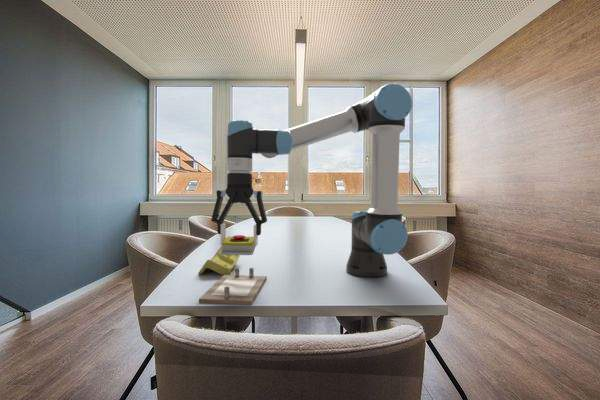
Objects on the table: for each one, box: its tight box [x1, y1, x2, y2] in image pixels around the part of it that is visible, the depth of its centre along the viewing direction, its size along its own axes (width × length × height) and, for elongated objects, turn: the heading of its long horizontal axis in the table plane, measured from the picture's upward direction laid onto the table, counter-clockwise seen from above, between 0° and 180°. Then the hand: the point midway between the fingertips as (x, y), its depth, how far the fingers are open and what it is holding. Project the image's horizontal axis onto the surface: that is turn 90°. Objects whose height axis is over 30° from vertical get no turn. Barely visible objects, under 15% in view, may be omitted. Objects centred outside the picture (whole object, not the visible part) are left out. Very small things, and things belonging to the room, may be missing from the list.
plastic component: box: [198, 245, 241, 276], centre depth 123 cm, size 20×7×10 cm
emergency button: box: [221, 234, 256, 256], centre depth 98 cm, size 9×4×15 cm
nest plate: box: [198, 266, 268, 305], centre depth 99 cm, size 23×15×4 cm, turn 176°
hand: (239, 245), depth 98 cm, fingers closed on emergency button, 9 cm apart
